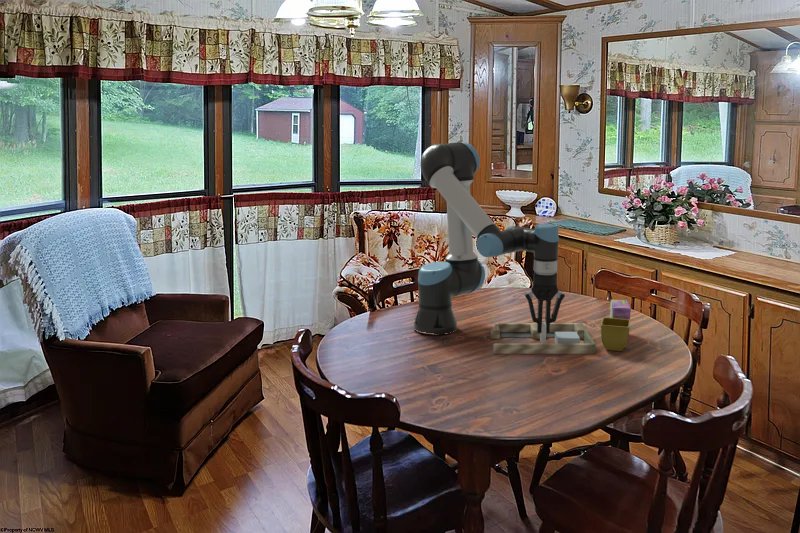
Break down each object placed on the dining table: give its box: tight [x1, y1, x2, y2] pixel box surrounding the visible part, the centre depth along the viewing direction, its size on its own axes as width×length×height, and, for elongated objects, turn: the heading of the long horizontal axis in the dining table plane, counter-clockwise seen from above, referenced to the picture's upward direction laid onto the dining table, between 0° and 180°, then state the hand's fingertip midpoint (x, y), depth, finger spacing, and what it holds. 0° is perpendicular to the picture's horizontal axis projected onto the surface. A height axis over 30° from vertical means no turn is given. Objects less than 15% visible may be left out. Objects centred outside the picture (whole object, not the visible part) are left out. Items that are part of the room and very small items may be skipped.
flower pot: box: [600, 317, 631, 352], centre depth 238 cm, size 9×9×9 cm
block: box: [554, 332, 581, 344], centre depth 242 cm, size 7×7×4 cm
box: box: [609, 299, 631, 343], centre depth 249 cm, size 10×6×12 cm, turn 168°
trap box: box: [490, 322, 597, 355], centre depth 246 cm, size 32×23×3 cm
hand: (542, 342), depth 243 cm, fingers closed
